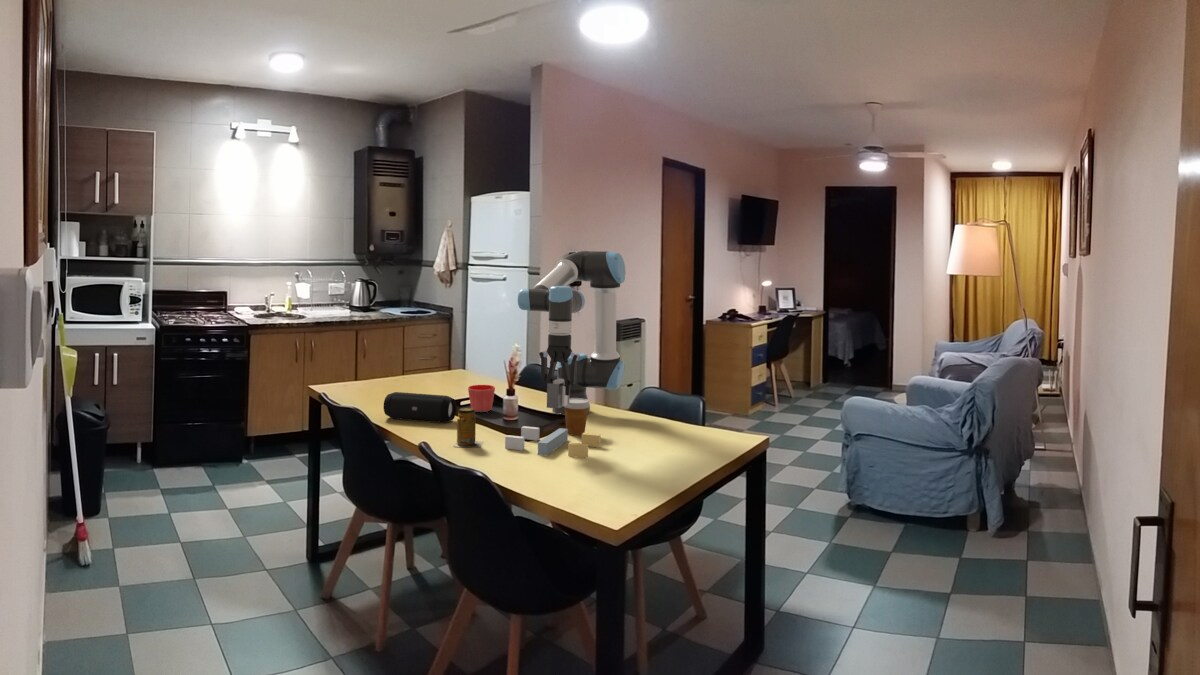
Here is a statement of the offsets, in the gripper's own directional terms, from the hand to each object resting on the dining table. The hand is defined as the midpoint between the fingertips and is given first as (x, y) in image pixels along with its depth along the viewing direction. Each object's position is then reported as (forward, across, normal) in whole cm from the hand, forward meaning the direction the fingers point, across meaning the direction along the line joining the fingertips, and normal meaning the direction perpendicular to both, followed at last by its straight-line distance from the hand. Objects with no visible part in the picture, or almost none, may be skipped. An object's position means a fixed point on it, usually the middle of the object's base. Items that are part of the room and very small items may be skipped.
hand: (558, 404), depth 248 cm
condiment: (+15, -28, -9) cm, 33 cm away
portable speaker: (+15, -61, +14) cm, 64 cm away
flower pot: (+15, -48, +37) cm, 62 cm away
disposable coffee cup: (+15, -1, +20) cm, 25 cm away
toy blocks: (+15, -2, 0) cm, 15 cm away
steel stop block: (0, 0, 0) cm, 0 cm away
